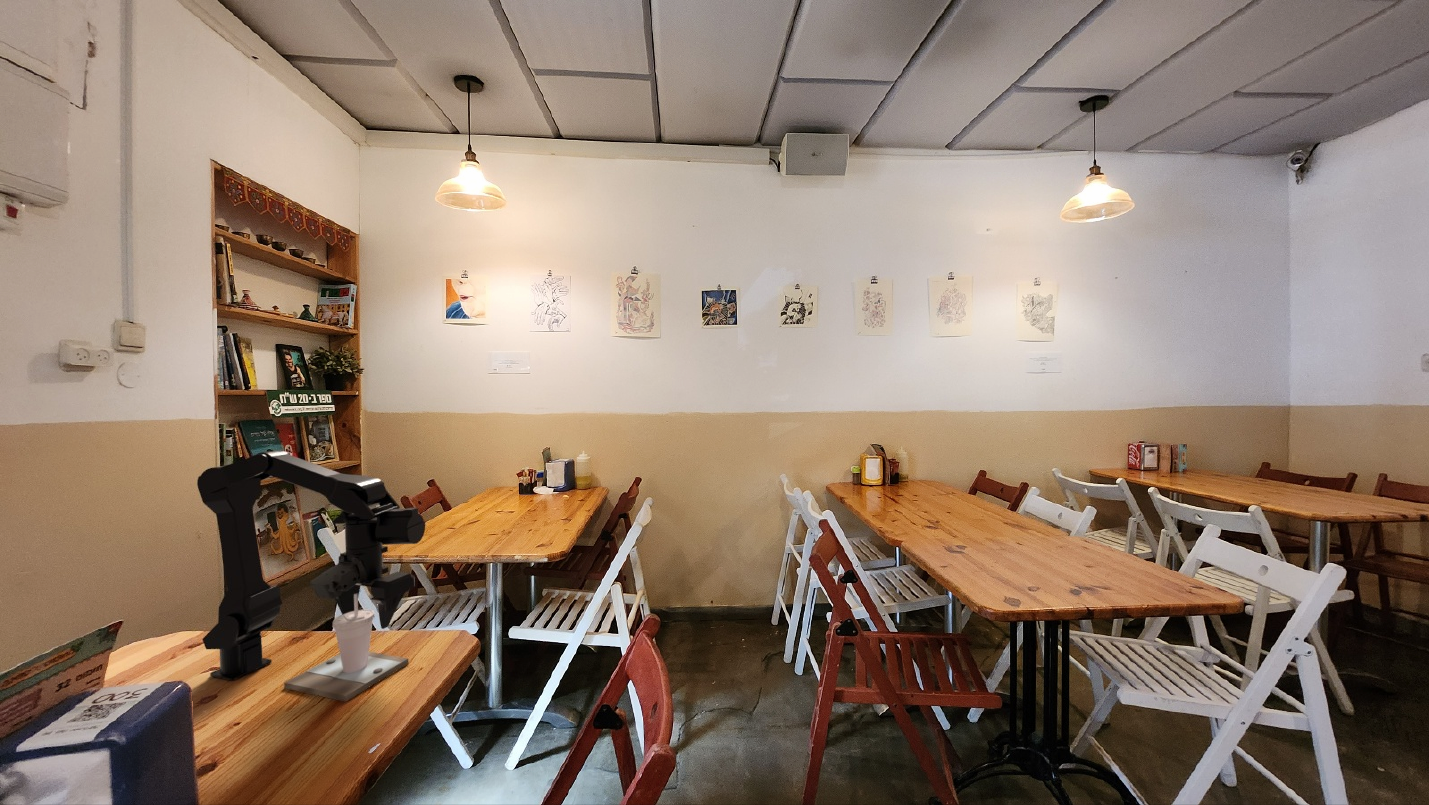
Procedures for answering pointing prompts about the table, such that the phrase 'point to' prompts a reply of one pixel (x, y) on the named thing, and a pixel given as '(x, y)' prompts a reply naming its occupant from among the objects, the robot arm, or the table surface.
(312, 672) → the gray and brown board
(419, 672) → the table surface
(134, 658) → the table surface
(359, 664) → the smoothie
